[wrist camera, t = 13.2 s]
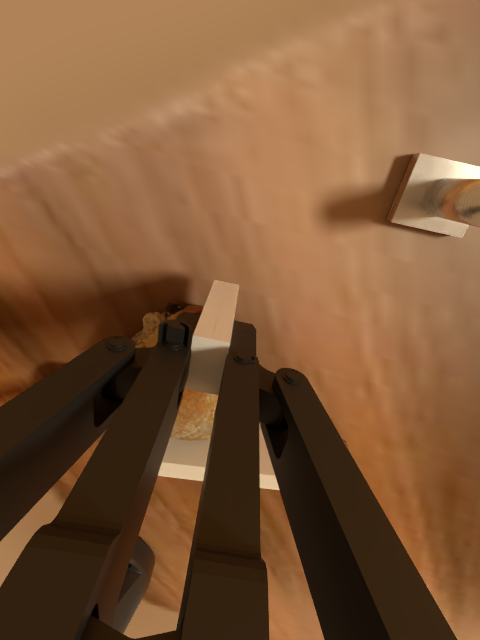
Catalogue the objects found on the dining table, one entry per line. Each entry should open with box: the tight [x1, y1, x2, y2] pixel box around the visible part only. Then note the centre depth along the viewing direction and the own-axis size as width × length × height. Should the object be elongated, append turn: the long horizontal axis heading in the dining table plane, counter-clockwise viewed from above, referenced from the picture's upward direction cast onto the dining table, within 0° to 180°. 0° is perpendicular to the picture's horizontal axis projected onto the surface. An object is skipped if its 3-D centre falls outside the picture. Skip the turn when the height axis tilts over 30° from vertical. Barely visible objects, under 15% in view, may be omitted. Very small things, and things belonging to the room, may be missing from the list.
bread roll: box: [131, 301, 218, 441], centre depth 21 cm, size 10×10×8 cm
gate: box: [158, 423, 279, 490], centre depth 23 cm, size 2×17×5 cm, turn 84°
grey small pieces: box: [343, 153, 480, 449], centre depth 20 cm, size 4×26×5 cm, turn 168°
